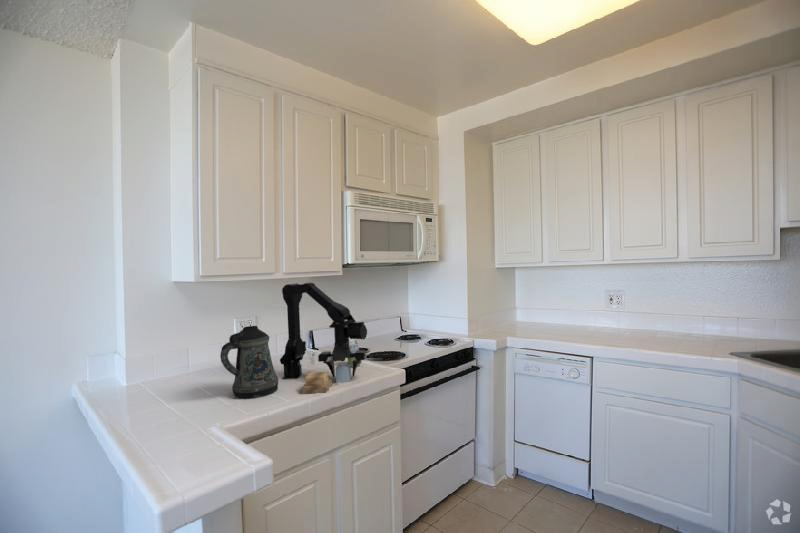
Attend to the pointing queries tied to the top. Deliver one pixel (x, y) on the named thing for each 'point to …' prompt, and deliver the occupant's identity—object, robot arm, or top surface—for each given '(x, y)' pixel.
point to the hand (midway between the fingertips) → (343, 377)
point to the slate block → (343, 373)
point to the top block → (317, 379)
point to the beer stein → (250, 364)
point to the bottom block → (317, 388)
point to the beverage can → (353, 351)
